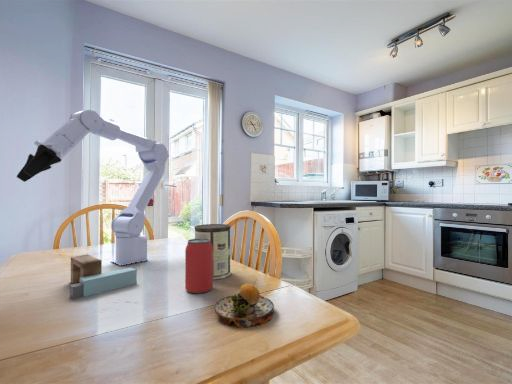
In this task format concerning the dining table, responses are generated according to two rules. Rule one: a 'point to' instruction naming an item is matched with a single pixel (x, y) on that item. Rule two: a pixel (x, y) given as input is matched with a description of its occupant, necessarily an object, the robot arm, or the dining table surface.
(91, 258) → the brown block
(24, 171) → the robot arm
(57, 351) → the dining table surface
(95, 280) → the light blue pillar
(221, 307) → the plated food dish
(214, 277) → the coffee can
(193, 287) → the beer can
